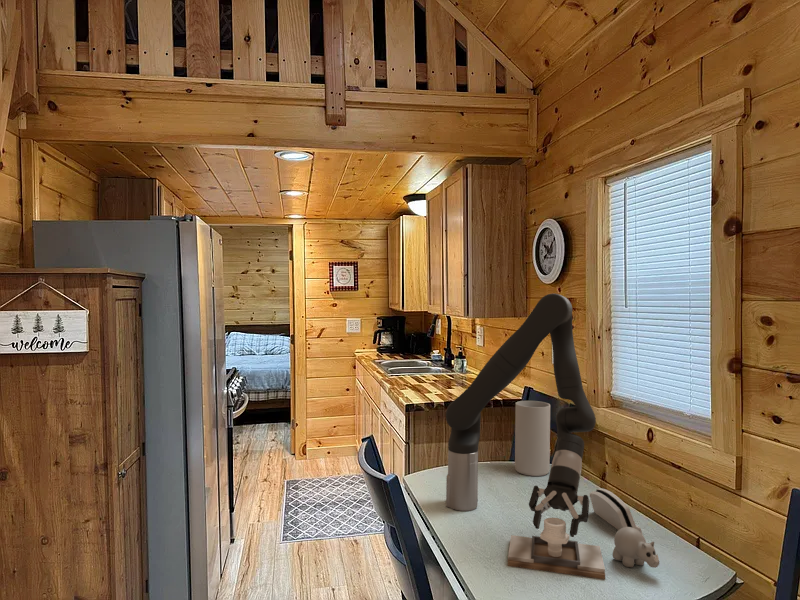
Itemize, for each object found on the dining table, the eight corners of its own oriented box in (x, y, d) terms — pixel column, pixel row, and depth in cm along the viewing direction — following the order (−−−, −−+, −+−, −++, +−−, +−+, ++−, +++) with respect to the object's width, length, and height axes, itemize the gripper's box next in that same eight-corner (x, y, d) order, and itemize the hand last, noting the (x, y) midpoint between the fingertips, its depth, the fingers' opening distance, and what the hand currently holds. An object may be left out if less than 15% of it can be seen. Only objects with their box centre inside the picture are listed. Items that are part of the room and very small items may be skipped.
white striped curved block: (643, 534, 146) (632, 501, 146) (628, 542, 146) (617, 508, 145) (608, 510, 163) (599, 480, 162) (595, 516, 162) (585, 486, 161)
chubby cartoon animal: (644, 582, 122) (645, 545, 122) (607, 558, 133) (607, 524, 133) (669, 577, 124) (669, 540, 124) (630, 553, 136) (630, 520, 135)
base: (507, 565, 129) (507, 555, 129) (511, 540, 142) (511, 530, 142) (605, 579, 123) (605, 568, 123) (599, 551, 137) (599, 541, 136)
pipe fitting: (573, 560, 130) (573, 526, 130) (544, 560, 130) (544, 526, 130) (565, 548, 136) (565, 516, 136) (536, 548, 136) (537, 516, 136)
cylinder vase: (552, 468, 202) (552, 402, 202) (546, 478, 191) (547, 408, 191) (518, 464, 207) (519, 399, 207) (511, 473, 196) (512, 405, 196)
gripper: (535, 460, 143) (522, 518, 133) (591, 469, 135) (581, 531, 126) (541, 474, 147) (528, 531, 137) (595, 484, 140) (586, 545, 130)
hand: (553, 531), depth 131 cm, fingers open, 8 cm apart
